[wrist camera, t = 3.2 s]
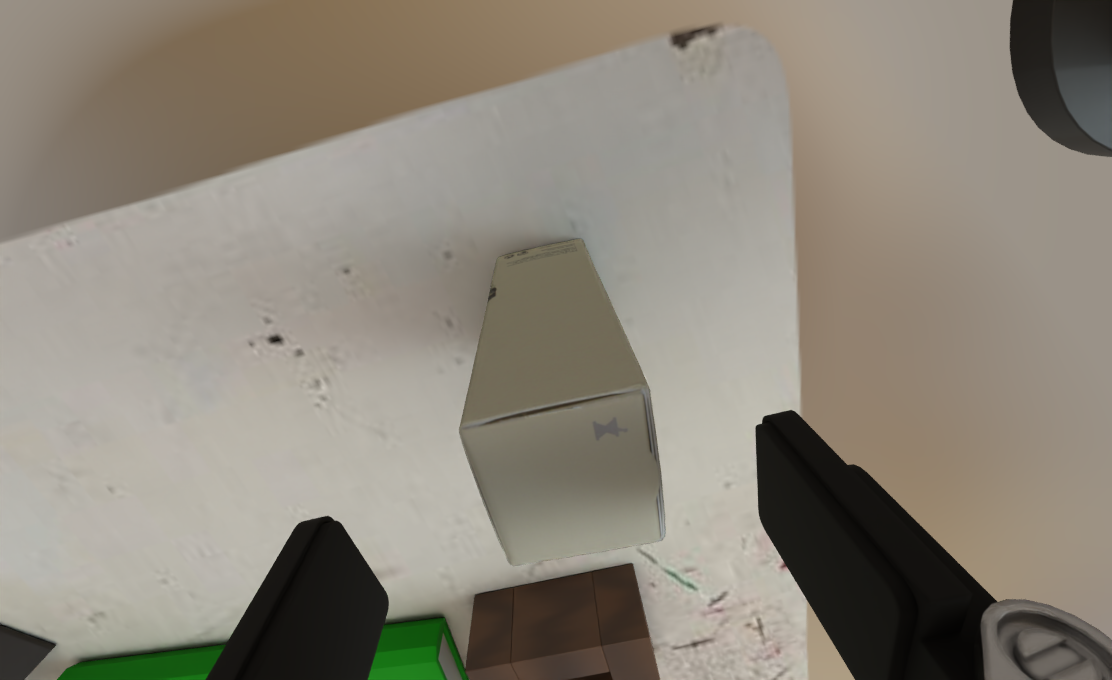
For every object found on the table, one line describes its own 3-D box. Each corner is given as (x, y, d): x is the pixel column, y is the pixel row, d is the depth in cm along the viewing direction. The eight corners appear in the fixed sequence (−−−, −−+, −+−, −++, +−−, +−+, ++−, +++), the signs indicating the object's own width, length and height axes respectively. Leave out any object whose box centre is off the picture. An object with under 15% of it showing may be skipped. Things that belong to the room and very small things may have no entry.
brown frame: (632, 563, 31) (649, 637, 26) (654, 653, 36) (671, 728, 31) (474, 594, 31) (464, 672, 27) (517, 679, 37) (515, 755, 32)
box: (494, 254, 20) (442, 416, 9) (585, 235, 20) (653, 376, 9) (520, 350, 23) (505, 577, 11) (601, 334, 23) (672, 549, 11)
